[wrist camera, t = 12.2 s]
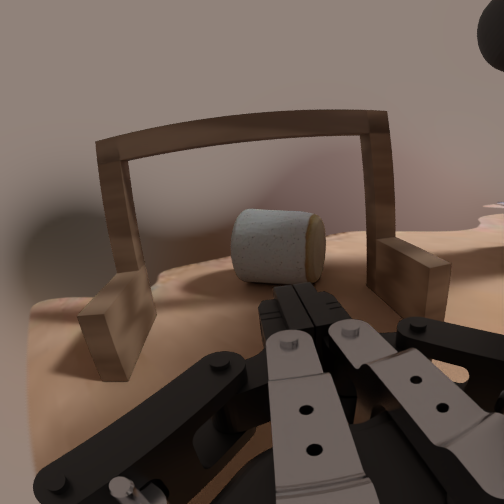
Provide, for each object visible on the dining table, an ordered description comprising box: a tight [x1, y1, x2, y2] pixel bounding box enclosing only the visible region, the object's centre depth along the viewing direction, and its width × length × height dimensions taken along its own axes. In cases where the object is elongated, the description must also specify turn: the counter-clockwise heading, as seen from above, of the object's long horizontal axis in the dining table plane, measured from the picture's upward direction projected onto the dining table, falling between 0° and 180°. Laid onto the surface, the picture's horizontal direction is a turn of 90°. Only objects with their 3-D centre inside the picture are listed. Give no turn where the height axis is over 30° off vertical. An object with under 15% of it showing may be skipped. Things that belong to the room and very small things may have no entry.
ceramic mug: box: [231, 209, 326, 284], centre depth 32 cm, size 11×8×8 cm
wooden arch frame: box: [77, 110, 452, 381], centre depth 20 cm, size 10×24×16 cm, turn 95°
